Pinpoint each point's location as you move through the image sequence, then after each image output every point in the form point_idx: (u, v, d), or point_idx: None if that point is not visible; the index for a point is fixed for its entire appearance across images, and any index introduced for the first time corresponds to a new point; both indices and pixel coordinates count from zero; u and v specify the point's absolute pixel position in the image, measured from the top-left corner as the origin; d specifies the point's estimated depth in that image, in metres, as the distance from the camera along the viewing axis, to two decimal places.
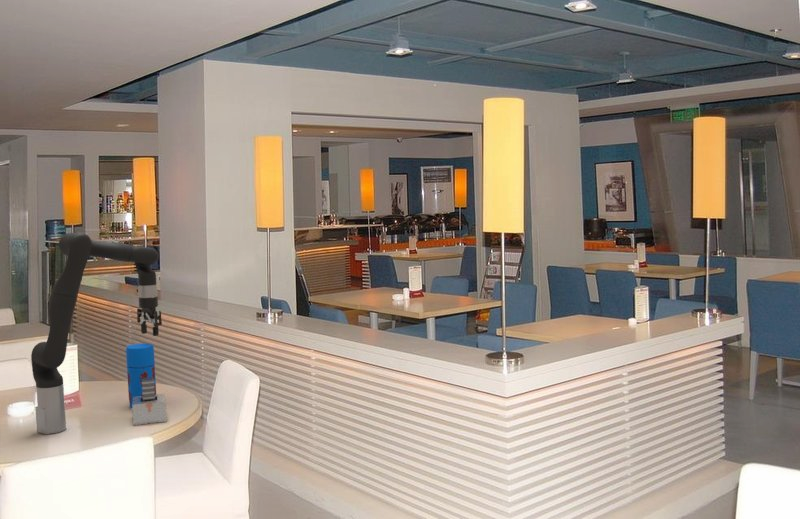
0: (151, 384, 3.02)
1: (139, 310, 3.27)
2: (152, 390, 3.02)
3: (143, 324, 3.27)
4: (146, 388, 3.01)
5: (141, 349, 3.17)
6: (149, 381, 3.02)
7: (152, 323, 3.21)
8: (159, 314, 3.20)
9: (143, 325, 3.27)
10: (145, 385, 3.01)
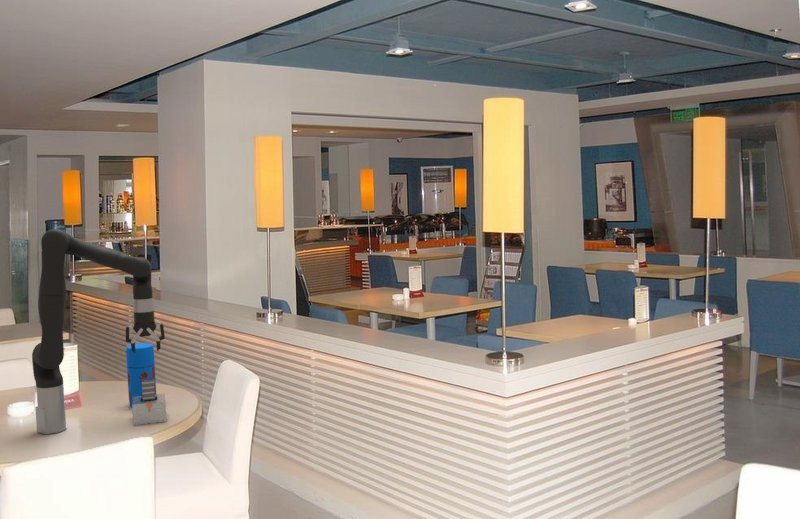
0: (151, 384, 3.02)
1: None
2: (152, 390, 3.02)
3: None
4: (146, 388, 3.01)
5: (141, 349, 3.17)
6: (149, 381, 3.02)
7: None
8: None
9: None
10: (145, 385, 3.01)
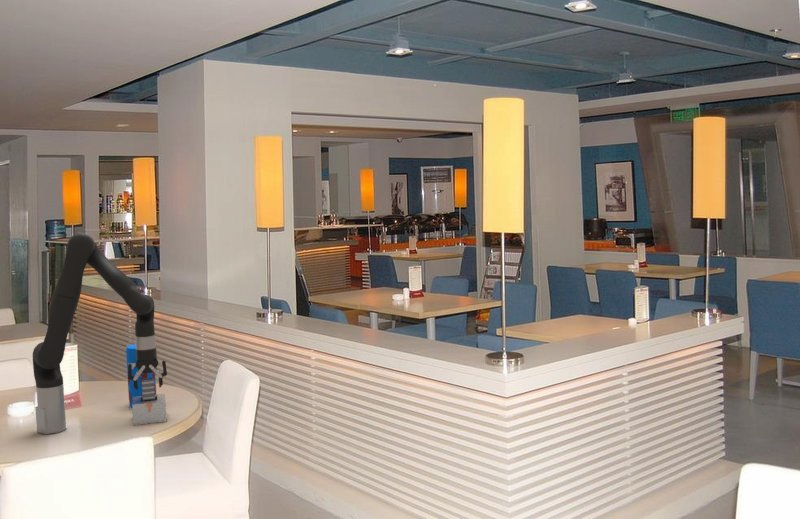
0: (151, 384, 3.02)
1: None
2: (152, 390, 3.02)
3: None
4: (146, 388, 3.01)
5: None
6: (149, 381, 3.02)
7: None
8: (128, 367, 3.00)
9: None
10: (145, 385, 3.01)
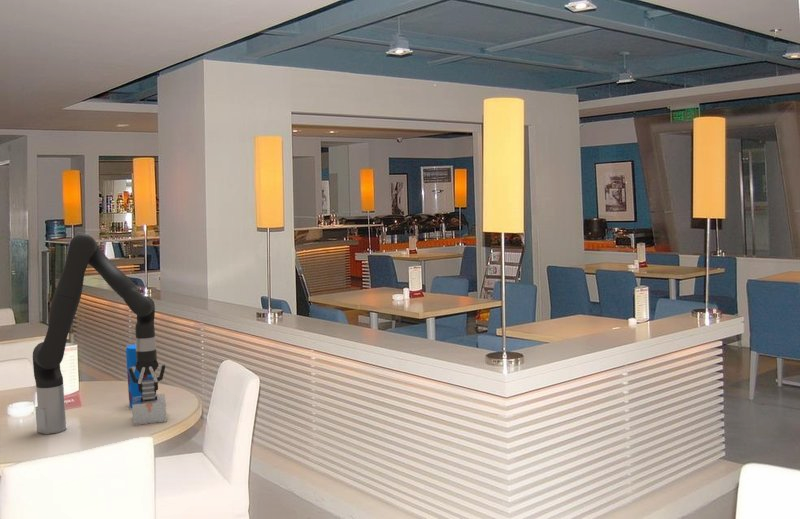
0: (151, 384, 3.02)
1: None
2: (152, 390, 3.02)
3: (154, 381, 3.04)
4: (146, 388, 3.01)
5: None
6: (149, 381, 3.02)
7: None
8: None
9: (154, 382, 3.05)
10: (145, 385, 3.01)
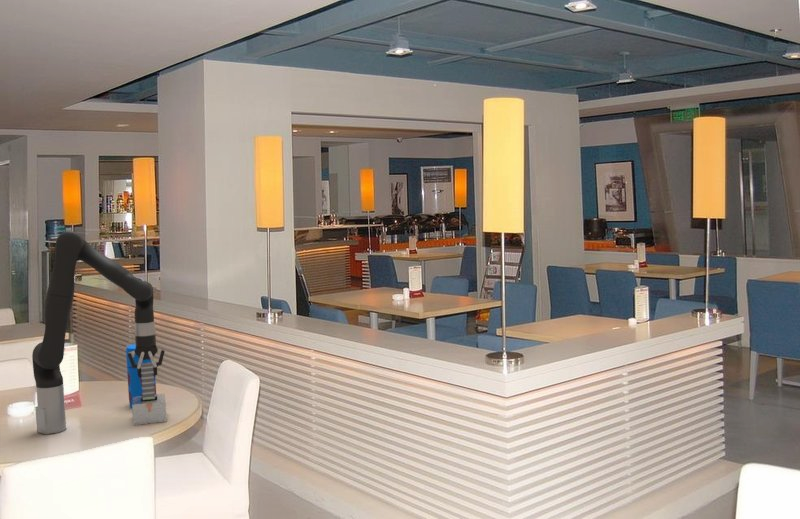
0: (150, 369, 3.02)
1: None
2: (151, 375, 3.02)
3: None
4: (145, 373, 3.01)
5: None
6: (148, 366, 3.01)
7: None
8: (128, 356, 3.00)
9: (153, 367, 3.04)
10: (144, 370, 3.01)
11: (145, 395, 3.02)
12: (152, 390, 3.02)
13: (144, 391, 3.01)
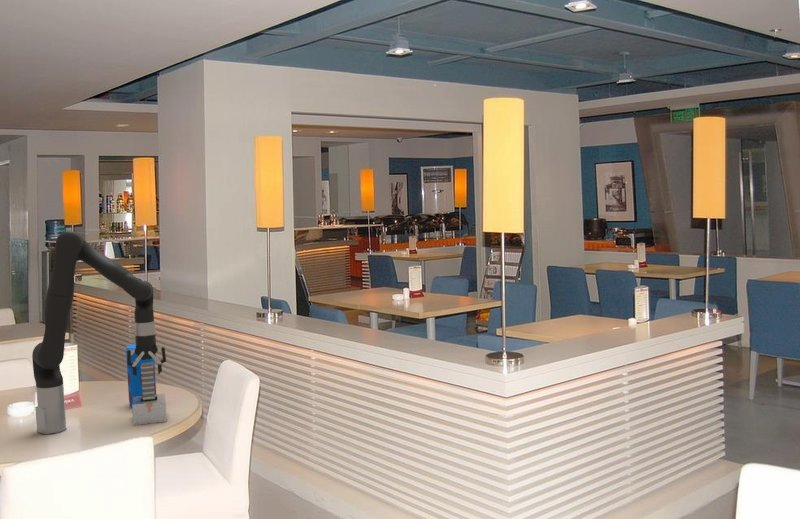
0: (150, 369, 3.01)
1: None
2: (151, 375, 3.02)
3: (158, 363, 3.04)
4: (145, 373, 3.01)
5: None
6: (148, 366, 3.01)
7: None
8: (127, 353, 3.00)
9: None
10: (144, 370, 3.01)
11: (145, 395, 3.02)
12: (152, 390, 3.02)
13: (144, 391, 3.01)
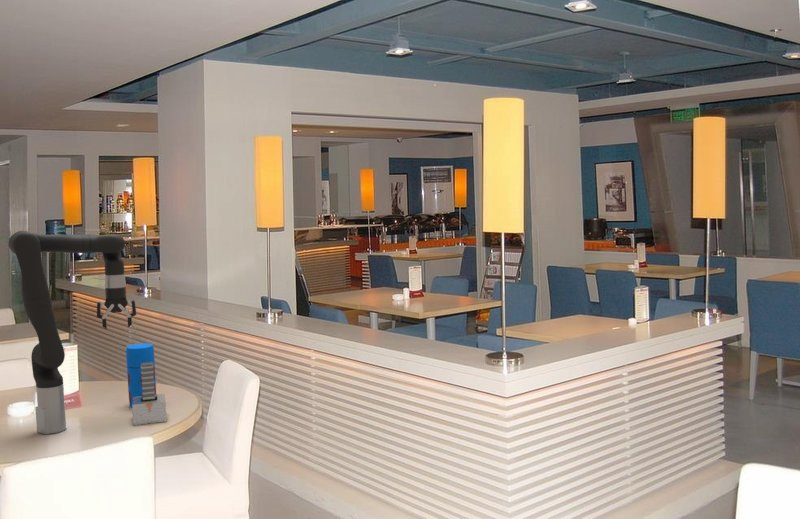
0: (150, 369, 3.01)
1: None
2: (151, 375, 3.02)
3: (128, 317, 3.05)
4: (145, 373, 3.01)
5: (141, 349, 3.17)
6: (148, 366, 3.01)
7: None
8: (97, 306, 3.01)
9: None
10: (144, 370, 3.01)
11: (145, 395, 3.02)
12: (152, 390, 3.02)
13: (144, 391, 3.01)
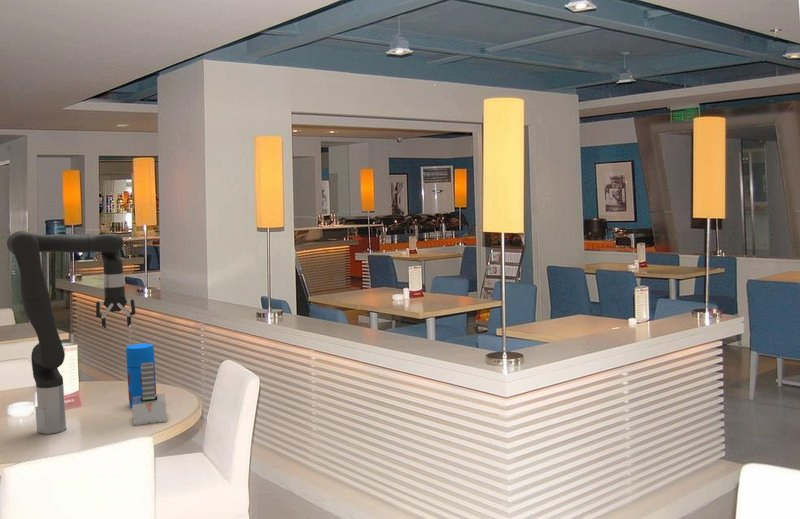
0: (150, 369, 3.01)
1: None
2: (151, 375, 3.02)
3: (127, 316, 3.05)
4: (145, 373, 3.01)
5: (141, 349, 3.17)
6: (148, 366, 3.01)
7: None
8: (96, 305, 3.01)
9: (127, 317, 3.05)
10: (144, 370, 3.01)
11: (145, 395, 3.02)
12: (152, 390, 3.02)
13: (144, 391, 3.01)
